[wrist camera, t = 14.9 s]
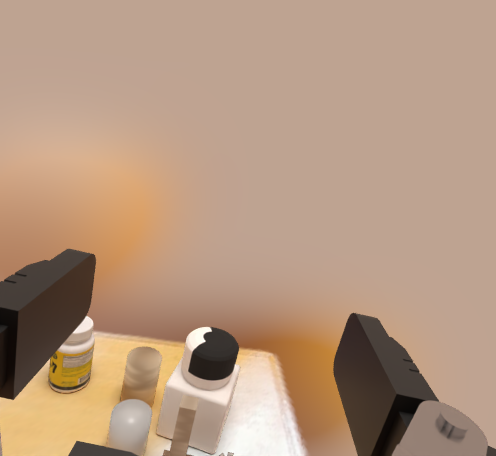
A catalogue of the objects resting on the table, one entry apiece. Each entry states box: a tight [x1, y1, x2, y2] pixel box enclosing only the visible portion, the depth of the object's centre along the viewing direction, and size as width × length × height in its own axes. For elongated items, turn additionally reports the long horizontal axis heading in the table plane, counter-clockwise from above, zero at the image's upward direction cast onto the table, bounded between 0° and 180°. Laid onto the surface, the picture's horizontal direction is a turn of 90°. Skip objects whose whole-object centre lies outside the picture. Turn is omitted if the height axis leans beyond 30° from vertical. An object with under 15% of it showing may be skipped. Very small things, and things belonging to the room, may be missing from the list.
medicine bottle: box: [156, 327, 240, 454], centre depth 43 cm, size 7×7×12 cm
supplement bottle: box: [49, 316, 95, 393], centre depth 45 cm, size 5×5×8 cm
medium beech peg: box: [120, 347, 162, 408], centre depth 44 cm, size 4×4×6 cm
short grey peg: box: [106, 399, 152, 456], centre depth 38 cm, size 4×4×5 cm
